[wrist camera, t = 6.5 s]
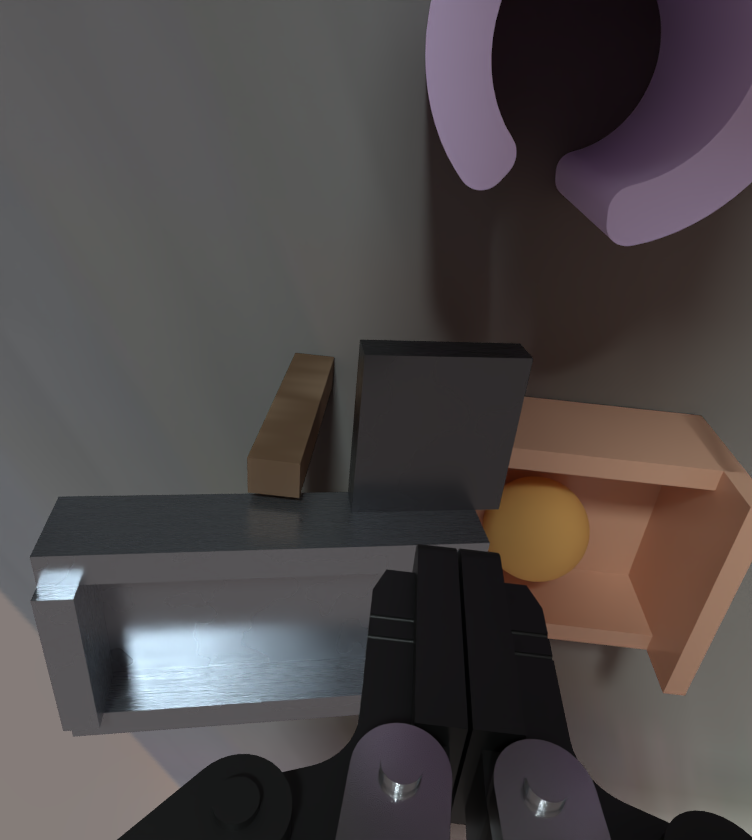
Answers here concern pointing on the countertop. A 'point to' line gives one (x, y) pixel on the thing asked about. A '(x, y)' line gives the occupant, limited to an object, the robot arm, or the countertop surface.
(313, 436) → the stand
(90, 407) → the countertop surface
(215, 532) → the tipping track
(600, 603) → the cup
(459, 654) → the robot arm
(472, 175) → the clip
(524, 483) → the ball
